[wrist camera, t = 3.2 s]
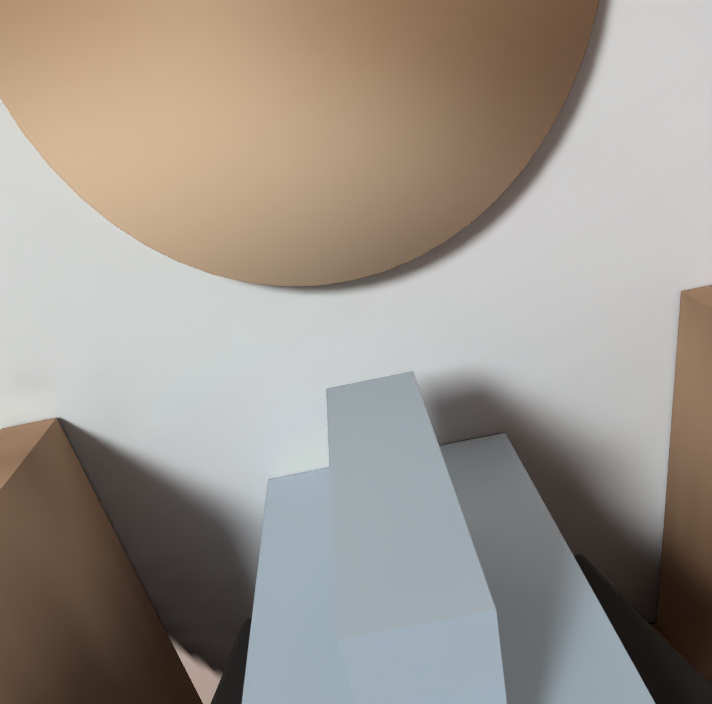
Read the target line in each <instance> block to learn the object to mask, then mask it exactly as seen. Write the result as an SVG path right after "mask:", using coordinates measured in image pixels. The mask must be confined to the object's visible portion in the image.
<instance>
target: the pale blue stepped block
mask: <svg viewBox="0 0 712 704" xmlns="http://www.w3.org/2000/svg"><path fill="white" fill-rule="evenodd" d="M326 394H327V419H328V445H329V468H325V469H320V470H315V471H310V472H305V473H300V474H295V475H290V476H285V477H280V478H274V479H269V480H268V485H267V493H266V502H265V510H264V519H263V527H262V536H261V544H260V553H259V561H258V570H257V578H256V587H255V595H254V604H253V612H252V621H251V629H250V638H249V646H248V655H247V663H246V672H245V680H244V688H243V697H242V704H655V702H654V700H653V698H652V697H651V695H650V693H649V691H648V689H647V688H646V686H645V684H644V682H643V680H642V679H641V677H640V675H639V673H638V671H637V670H636V668H635V666H634V664H633V662H632V661H631V659H630V657H629V655H628V653H627V652H626V650H625V648H624V646H623V644H622V642H621V641H620V639H619V637H618V635H617V633H616V632H615V630H614V628H613V626H612V624H611V623H610V621H609V619H608V617H607V615H606V614H605V612H604V610H603V608H602V606H601V605H600V603H599V601H598V599H597V597H596V596H595V594H594V592H593V590H592V588H591V587H590V585H589V583H588V581H587V579H586V578H585V576H584V574H583V572H582V570H581V569H580V567H579V565H578V563H577V561H576V559H575V558H574V556H573V554H572V552H571V550H570V549H569V547H568V545H567V543H566V541H565V540H564V538H563V536H562V534H561V532H560V531H559V529H558V527H557V525H556V523H555V522H554V520H553V518H552V516H551V514H550V513H549V511H548V509H547V507H546V505H545V504H544V502H543V500H542V498H541V496H540V495H539V493H538V491H537V489H536V487H535V486H534V484H533V482H532V480H531V478H530V476H529V475H528V473H527V471H526V469H525V467H524V466H523V464H522V462H521V460H520V458H519V457H518V455H517V453H516V451H515V449H514V448H513V446H512V444H511V442H510V440H509V439H508V437H507V435H506V433H501V434H496V435H491V436H486V437H481V438H476V439H471V440H466V441H461V442H456V443H451V444H446V445H441V446H439V444H438V442H437V439H436V436H435V433H434V430H433V427H432V424H431V421H430V419H429V416H428V413H427V410H426V407H425V404H424V401H423V399H422V396H421V393H420V390H419V387H418V384H417V381H416V378H415V376H414V373H413V371H412V372H407V373H402V374H397V375H392V376H387V377H382V378H377V379H372V380H367V381H362V382H357V383H352V384H347V385H342V386H337V387H332V388H328V389H326Z"/></svg>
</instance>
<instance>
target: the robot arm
mask: <svg viewBox="0 0 712 704" xmlns="http://www.w3.org/2000/svg"><path fill="white" fill-rule="evenodd" d="M574 558H575V559H576V561H577V563H578V565H579V567H580V569H581V570H582V572H583V574H584V576H585V578H586V579H587V581H588V583H589V585H590V587H591V588H592V590H593V592H594V594H595V596H596V597H597V599H598V601H599V603H600V605H601V606H602V608H603V610H604V612H605V614H606V615H607V617H608V619H609V621H610V623H611V624H612V626H613V628H614V630H615V632H616V633H617V635H618V637H619V639H620V641H621V642H622V644H623V646H624V648H625V650H626V652H627V653H628V655H629V657H630V659H631V661H632V662H633V664H634V666H635V668H636V670H637V671H638V673H639V675H640V677H641V679H642V680H643V682H644V684H645V686H646V688H647V689H648V691H649V693H650V695H651V697H652V698H653V700H654V702H655V704H712V683H711V682H710V681H709V680H708V679H707V678H706V677H705V676H704V675H703V674H702V673H700V672H699V671H698V670H697V669H696V668H695V667H694V666H693V665H692V664H691V663H690V662H689V661H688V660H687V659H685V658H684V657H683V656H682V655H681V654H680V653H679V652H678V651H677V650H676V649H675V648H674V647H673V646H672V645H670V644H669V643H668V642H667V641H666V640H665V639H664V638H663V637H662V636H661V635H660V634H659V633H658V632H657V631H656V630H655V629H654V628H653V627H652V626H651V625H650V624H649V623H648V622H647V621H646V620H645V619H644V618H643V617H642V616H641V615H640V614H639V613H638V612H637V611H636V610H635V609H634V608H633V607H632V606H631V605H630V604H629V603H628V602H627V601H626V600H625V599H624V598H623V597H622V596H621V595H620V594H619V593H618V592H617V591H616V590H615V589H614V588H613V587H612V586H611V585H610V584H609V582H608V581H607V580H606V579H605V578H604V577H603V576H602V575H601V574H600V573H599V572H598V571H597V570H596V569H595V567H594V566H593V565H592V564H591V563H590V562H589V561H588V560H587V559H586V558H585V557H583V556H582V555H580V554H579V555H574ZM251 621H252V618H248V619H246V620H245V621H244V622H243V624H242V626H241V628H240V631H239V634H238V637H237V639H236V642H235V645H234V647H233V650H232V652H231V655H230V658H229V660H228V663H227V665H226V668H225V670H224V673H223V675H222V678H221V680H220V683H219V685H218V688H217V690H216V692H215V695H214V697H213V699H212V702H211V704H242V697H243V688H244V680H245V672H246V663H247V655H248V646H249V638H250V629H251Z"/></svg>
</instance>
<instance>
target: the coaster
mask: <svg viewBox="0 0 712 704" xmlns="http://www.w3.org/2000/svg"><path fill="white" fill-rule="evenodd" d="M598 4H599V0H0V98H1V99H2V101H3V103H4V104H5V106H6V107H7V109H8V110H9V112H10V114H11V115H12V117H13V118H14V120H15V122H16V123H17V125H18V126H19V128H20V129H21V131H22V132H23V133H24V135H25V136H26V137H27V138H28V140H29V141H30V142H31V143H32V145H33V146H34V147H35V148H36V150H37V151H38V152H39V154H40V155H41V156H42V157H43V159H44V160H45V161H46V162H47V164H48V165H49V166H50V167H51V168H52V169H53V170H54V171H55V172H56V173H57V174H58V175H59V176H60V177H61V178H62V179H63V180H64V181H65V182H66V183H67V184H68V186H69V187H70V188H71V189H72V190H73V191H74V192H75V193H76V194H77V195H78V196H79V197H80V198H82V199H83V200H84V201H85V202H86V203H88V204H89V205H90V206H91V207H93V208H94V209H95V210H96V211H97V212H99V213H100V214H101V215H102V216H103V217H105V218H106V219H107V220H108V221H110V222H111V223H112V224H114V225H115V226H117V227H118V228H120V229H121V230H123V231H124V232H126V233H127V234H129V235H130V236H132V237H133V238H135V239H137V240H138V241H140V242H141V243H143V244H144V245H146V246H148V247H150V248H152V249H154V250H156V251H158V252H160V253H162V254H164V255H166V256H168V257H170V258H172V259H174V260H176V261H178V262H180V263H183V264H186V265H189V266H191V267H194V268H197V269H200V270H202V271H205V272H208V273H211V274H213V275H218V276H222V277H226V278H230V279H235V280H239V281H243V282H247V283H256V284H266V285H275V286H318V285H325V284H332V283H340V282H347V281H352V280H356V279H359V278H363V277H367V276H370V275H374V274H378V273H381V272H384V271H387V270H389V269H392V268H394V267H396V266H399V265H401V264H404V263H406V262H409V261H411V260H413V259H415V258H417V257H419V256H421V255H423V254H424V253H426V252H428V251H430V250H431V249H433V248H435V247H437V246H439V245H440V244H442V243H444V242H446V241H447V240H448V239H450V238H451V237H452V236H454V235H455V234H456V233H458V232H459V231H461V230H462V229H463V228H465V227H466V226H467V225H469V224H470V223H471V222H473V221H474V220H475V219H476V218H477V217H478V216H479V215H481V214H482V213H483V212H484V211H485V210H486V209H487V208H488V207H489V206H490V205H491V204H492V203H493V202H494V201H496V200H497V199H498V198H499V197H500V196H501V195H502V194H503V193H504V191H505V190H506V189H507V188H508V187H509V185H510V184H511V183H512V182H513V181H514V180H515V178H516V177H517V176H518V175H519V174H520V172H521V171H522V170H523V169H524V168H525V167H526V165H527V164H528V162H529V161H530V159H531V158H532V156H533V155H534V154H535V152H536V151H537V149H538V148H539V146H540V145H541V143H542V142H543V140H544V139H545V137H546V136H547V134H548V133H549V131H550V129H551V127H552V125H553V123H554V122H555V120H556V118H557V116H558V114H559V112H560V110H561V108H562V106H563V104H564V102H565V100H566V99H567V97H568V95H569V93H570V90H571V87H572V85H573V82H574V80H575V77H576V75H577V72H578V70H579V67H580V65H581V62H582V60H583V57H584V54H585V52H586V48H587V45H588V41H589V37H590V34H591V30H592V26H593V23H594V19H595V16H596V12H597V8H598Z"/></svg>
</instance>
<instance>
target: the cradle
mask: <svg viewBox="0 0 712 704" xmlns="http://www.w3.org/2000/svg"><path fill="white" fill-rule="evenodd" d="M651 626H652V627H653V628H654V629H655V630H656V631H657V632H658V633H659V634H660V635H661V636H662V637H663V638H664V639H665V640H666V641H667V642H668V643H669V644H670V645H672V646H673V647H674V648H675V649H676V650H677V651H678V652H679V653H680V654H681V655H682V656H683V657H684V658H685V659H687V660H688V661H689V662H690V663H691V664H692V665H693V666H694V667H695V668H696V669H697V670H698V671H699V672H700V673H702V674H703V675H704V676H705V677H706V678H707V679H708V680H709V681H710V682H711V683H712V285H709V286H704V287H699V288H694V289H689V290H684V291H681V301H680V314H679V328H678V341H677V355H676V368H675V382H674V395H673V409H672V423H671V436H670V450H669V463H668V477H667V490H666V504H665V517H664V531H663V544H662V558H661V572H660V585H659V599H658V612H657V623H656V624H651ZM0 704H203V703H202V701H201V699H200V697H199V695H198V693H197V691H196V689H195V688H194V685H193V683H192V681H191V679H190V678H189V676H188V674H187V672H186V670H185V668H184V666H183V664H182V662H181V660H180V658H179V656H178V654H177V652H176V650H175V648H174V646H173V644H172V642H171V640H170V638H169V636H168V634H167V632H166V631H165V629H164V627H163V625H162V623H161V621H160V619H159V617H158V615H157V613H156V611H155V609H154V607H153V605H152V603H151V601H150V599H149V597H148V595H147V593H146V591H145V589H144V587H143V586H142V584H141V582H140V580H139V578H138V576H137V574H136V572H135V570H134V568H133V566H132V564H131V562H130V560H129V558H128V556H127V554H126V552H125V550H124V548H123V546H122V544H121V542H120V540H119V539H118V537H117V535H116V533H115V531H114V529H113V527H112V525H111V523H110V521H109V519H108V517H107V515H106V513H105V511H104V509H103V507H102V505H101V503H100V501H99V499H98V497H97V495H96V493H95V492H94V490H93V488H92V486H91V484H90V482H89V480H88V478H87V476H86V474H85V472H84V470H83V468H82V466H81V464H80V462H79V460H78V458H77V456H76V454H75V452H74V450H73V448H72V447H71V445H70V443H69V441H68V439H67V437H66V435H65V433H64V431H63V429H62V427H61V425H60V423H59V421H58V419H57V418H52V419H47V420H42V421H37V422H32V423H27V424H22V425H17V426H13V427H8V428H3V429H1V430H0Z"/></svg>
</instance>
